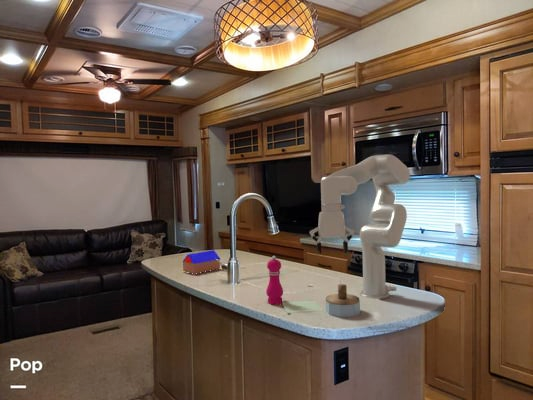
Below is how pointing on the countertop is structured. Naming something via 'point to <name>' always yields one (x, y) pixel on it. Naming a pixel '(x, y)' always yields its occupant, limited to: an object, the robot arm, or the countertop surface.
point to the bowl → (343, 309)
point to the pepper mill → (274, 282)
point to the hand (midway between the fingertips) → (332, 252)
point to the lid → (342, 297)
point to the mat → (301, 306)
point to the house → (201, 262)
